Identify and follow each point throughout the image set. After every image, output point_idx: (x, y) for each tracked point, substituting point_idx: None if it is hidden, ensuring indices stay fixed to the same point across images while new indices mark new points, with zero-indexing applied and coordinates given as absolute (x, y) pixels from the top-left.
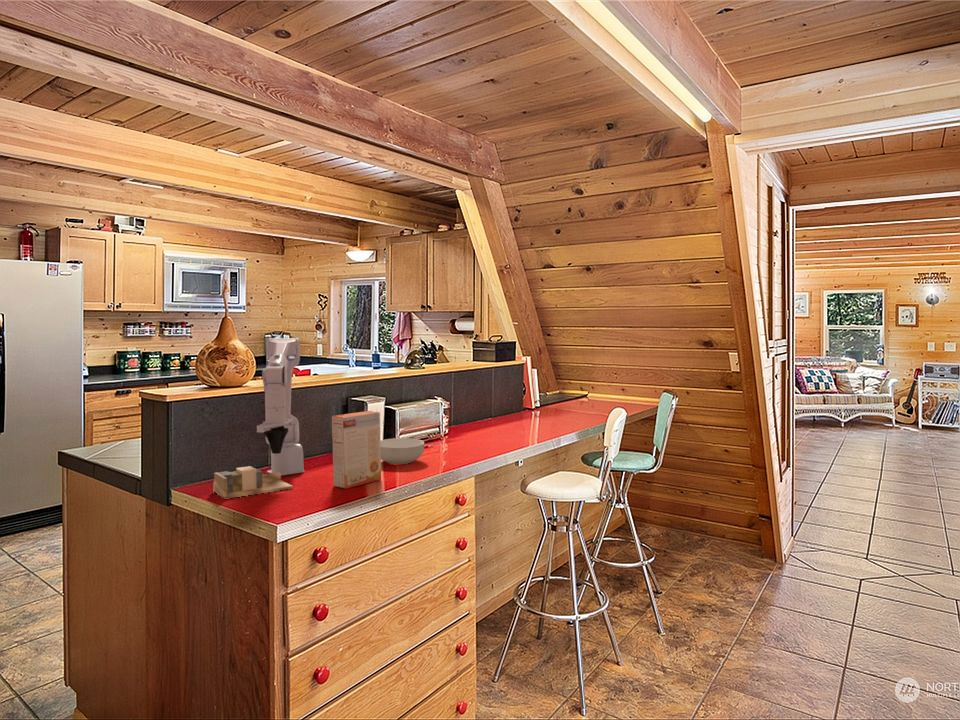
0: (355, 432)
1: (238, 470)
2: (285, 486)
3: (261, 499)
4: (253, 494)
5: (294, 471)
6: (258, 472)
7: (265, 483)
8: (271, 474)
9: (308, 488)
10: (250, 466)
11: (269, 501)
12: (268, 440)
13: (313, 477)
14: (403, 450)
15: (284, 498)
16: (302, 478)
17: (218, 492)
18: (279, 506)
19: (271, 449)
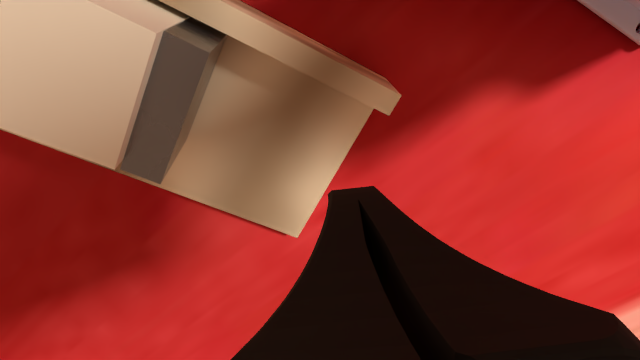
0: None
1: (4, 28)
2: (272, 217)
3: (80, 237)
4: None
5: (626, 2)
6: (132, 172)
7: (271, 77)
8: (332, 87)
9: None
10: (147, 46)
11: (85, 282)
12: (299, 279)
13: (530, 169)
14: None
15: (157, 298)
16: (499, 134)
17: None
18: (70, 348)
19: (327, 211)
